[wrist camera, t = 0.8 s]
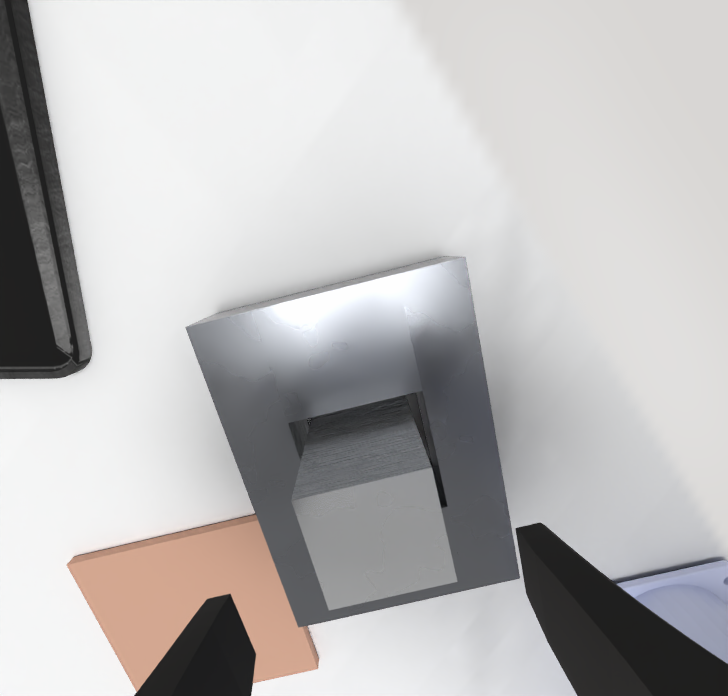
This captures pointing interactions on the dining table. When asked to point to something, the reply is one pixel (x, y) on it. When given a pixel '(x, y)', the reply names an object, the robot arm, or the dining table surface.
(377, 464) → the steel peg
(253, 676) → the robot arm
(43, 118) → the phone
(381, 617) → the dining table surface
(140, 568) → the mat
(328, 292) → the socket plate
